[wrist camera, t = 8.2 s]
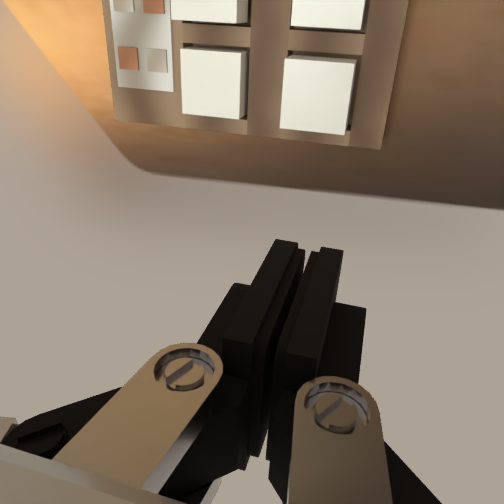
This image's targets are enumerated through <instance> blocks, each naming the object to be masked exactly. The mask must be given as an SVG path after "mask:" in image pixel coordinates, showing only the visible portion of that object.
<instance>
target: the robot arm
mask: <svg viewBox="0 0 504 504" xmlns="http://www.w3.org/2000/svg"><path fill="white" fill-rule="evenodd" d="M342 257H343V250H338V249H332V248H326V247H321V249H320V252H315V251H311V254H310V256H309V259H308V262H307V265H306V267H305V270H304V273H303V269H304V260H305V250H303V249H298V243H296V242H291V241H284V240H278V239H276V240H275V241H274V243H273V245H272V247H271V249H270V250H269V252H268V254H267V256H266V258H265V260H264V261H263V263H262V265H261V267H260V269H259V271H258V272H257V274H256V276H255V278H254V280H253V282H252V283H251V285H245V284H240V283H234V284H233V286H232V287H231V288H230V290H229V291H228V293H227V295H226V296H225V298H224V300H223V301H222V303H221V305H220V306H219V308H218V310H217V311H216V313H215V315H214V316H213V318H212V319H211V321H210V323H209V324H208V326H207V327H206V329H205V331H204V332H203V334H202V336H201V337H200V339H199V340H198V342H197V344H195V343H180V344H175V345H170V346H168V347H166V348H164V349H161V350H160V351H159V352H157V353H156V354H155V355H153V356H152V357H151V358H150V359H149V360H148V361H147V362H146V363H145V364H144V365H143V366H142V368H140V370H139V371H138V372H137V373H136V374H135V375H134V376H133V377H132V378H131V379H130V380H129V381H128V382H127V383H126V384H125V385H124V386H123V387H120V388H117V389H114V390H111V391H108V392H105V393H102V394H99V395H96V396H93V397H90V398H87V399H84V400H81V401H78V402H75V403H72V404H69V405H66V406H63V407H60V408H57V409H54V410H51V411H48V412H45V413H42V414H39V415H37V416H34V417H32V418H30V419H28V420H25V421H24V422H23V423H21V424H17V421H16V418H10V417H0V504H211V502H212V500H213V498H214V497H215V495H216V493H217V491H218V489H219V486H220V484H221V477H222V476H224V475H226V474H228V473H231V472H233V471H235V470H237V469H241V470H245V469H246V466H247V463H248V460H249V457H250V455H251V456H255V457H259V455H260V452H261V449H262V446H263V443H264V440H265V437H266V434H267V430H268V438H267V449H266V460H269V461H270V467H269V477H268V478H269V480H270V482H271V484H272V485H273V487H274V489H275V490H276V492H277V494H278V495H279V497H280V499H281V500H282V504H442V503H441V502H440V501H439V500H438V499H437V498H436V497H435V496H434V495H433V494H432V492H431V491H430V490H429V489H428V488H427V487H426V486H425V485H424V484H423V483H422V482H421V480H420V479H419V478H418V477H417V476H416V475H415V474H414V473H413V472H412V471H411V470H410V469H409V468H408V466H407V465H406V464H405V463H404V462H403V461H402V460H401V459H400V458H399V456H398V455H397V454H395V452H394V451H393V450H392V449H391V448H390V447H389V446H388V445H387V443H386V442H385V441H384V439H383V432H382V425H381V419H380V412H379V409H378V406H377V403H376V401H375V400H374V398H373V397H372V396H371V394H370V393H369V392H368V391H367V390H365V389H364V388H363V387H362V386H360V385H359V384H358V381H359V372H360V363H361V354H362V345H363V336H364V327H365V318H366V308H362V307H357V306H352V305H347V304H342V303H337V302H335V301H336V295H337V289H338V283H339V276H340V270H341V264H342Z"/></svg>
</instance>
